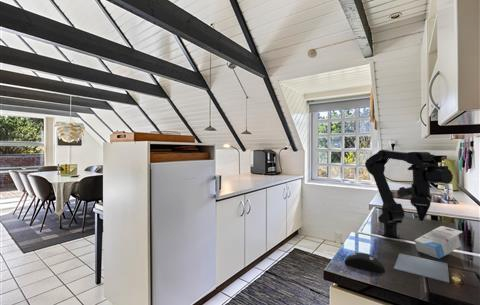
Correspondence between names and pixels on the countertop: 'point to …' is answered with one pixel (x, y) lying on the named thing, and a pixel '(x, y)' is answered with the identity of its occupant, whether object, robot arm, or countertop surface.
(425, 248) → the ink box
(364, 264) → the computer mouse
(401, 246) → the countertop surface
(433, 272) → the mat
